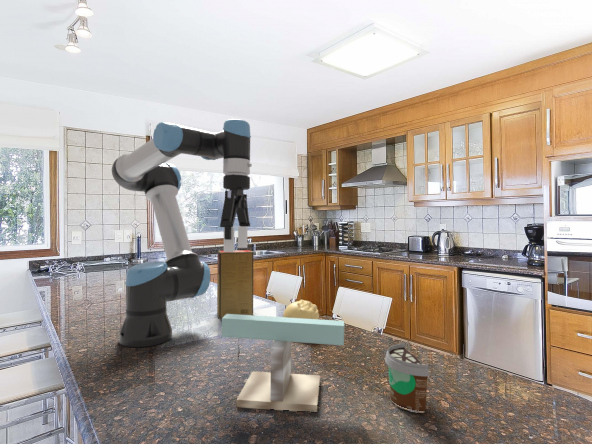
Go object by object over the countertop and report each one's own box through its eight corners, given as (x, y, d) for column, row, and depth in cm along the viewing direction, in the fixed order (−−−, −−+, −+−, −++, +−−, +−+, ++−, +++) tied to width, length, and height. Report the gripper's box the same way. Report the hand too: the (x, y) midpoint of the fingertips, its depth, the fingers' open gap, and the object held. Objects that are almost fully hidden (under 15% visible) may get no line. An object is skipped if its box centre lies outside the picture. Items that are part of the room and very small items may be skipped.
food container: (376, 387, 78) (377, 343, 78) (403, 387, 79) (403, 342, 78) (397, 419, 66) (397, 366, 66) (428, 418, 66) (429, 365, 66)
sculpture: (316, 339, 109) (316, 305, 109) (279, 336, 111) (279, 303, 111) (321, 328, 120) (321, 297, 120) (287, 326, 123) (287, 295, 123)
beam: (221, 336, 75) (221, 318, 75) (226, 331, 78) (226, 313, 78) (343, 345, 72) (344, 325, 72) (343, 339, 75) (343, 321, 75)
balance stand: (236, 407, 70) (237, 347, 69) (252, 377, 82) (252, 327, 82) (316, 412, 68) (317, 351, 68) (320, 381, 81) (320, 330, 81)
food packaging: (249, 310, 144) (249, 249, 143) (254, 316, 135) (254, 251, 134) (216, 312, 139) (216, 250, 139) (218, 319, 130) (219, 252, 130)
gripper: (237, 169, 87) (236, 254, 87) (259, 180, 111) (258, 246, 112) (208, 169, 88) (207, 253, 88) (236, 180, 112) (236, 246, 113)
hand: (236, 249), depth 100 cm, fingers open, 13 cm apart
